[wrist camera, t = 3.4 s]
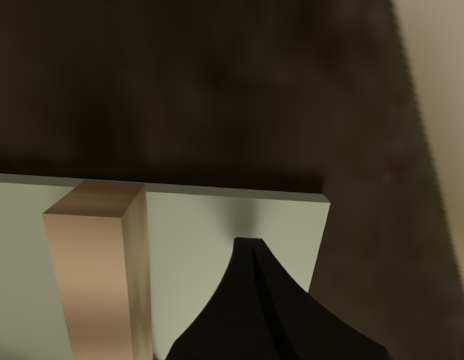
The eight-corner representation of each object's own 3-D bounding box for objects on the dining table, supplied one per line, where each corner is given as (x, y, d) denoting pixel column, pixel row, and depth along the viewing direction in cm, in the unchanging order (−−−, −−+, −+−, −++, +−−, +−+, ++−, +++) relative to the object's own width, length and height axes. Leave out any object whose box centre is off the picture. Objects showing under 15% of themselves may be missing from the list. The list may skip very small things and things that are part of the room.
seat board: (271, 411, 21) (273, 427, 20) (-51, 406, 19) (-65, 423, 18) (322, 194, 14) (330, 203, 13) (-184, 161, 12) (-218, 168, 11)
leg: (162, 389, 17) (149, 454, 14) (106, 388, 17) (81, 454, 14) (156, 184, 12) (134, 222, 9) (73, 178, 12) (22, 215, 9)
